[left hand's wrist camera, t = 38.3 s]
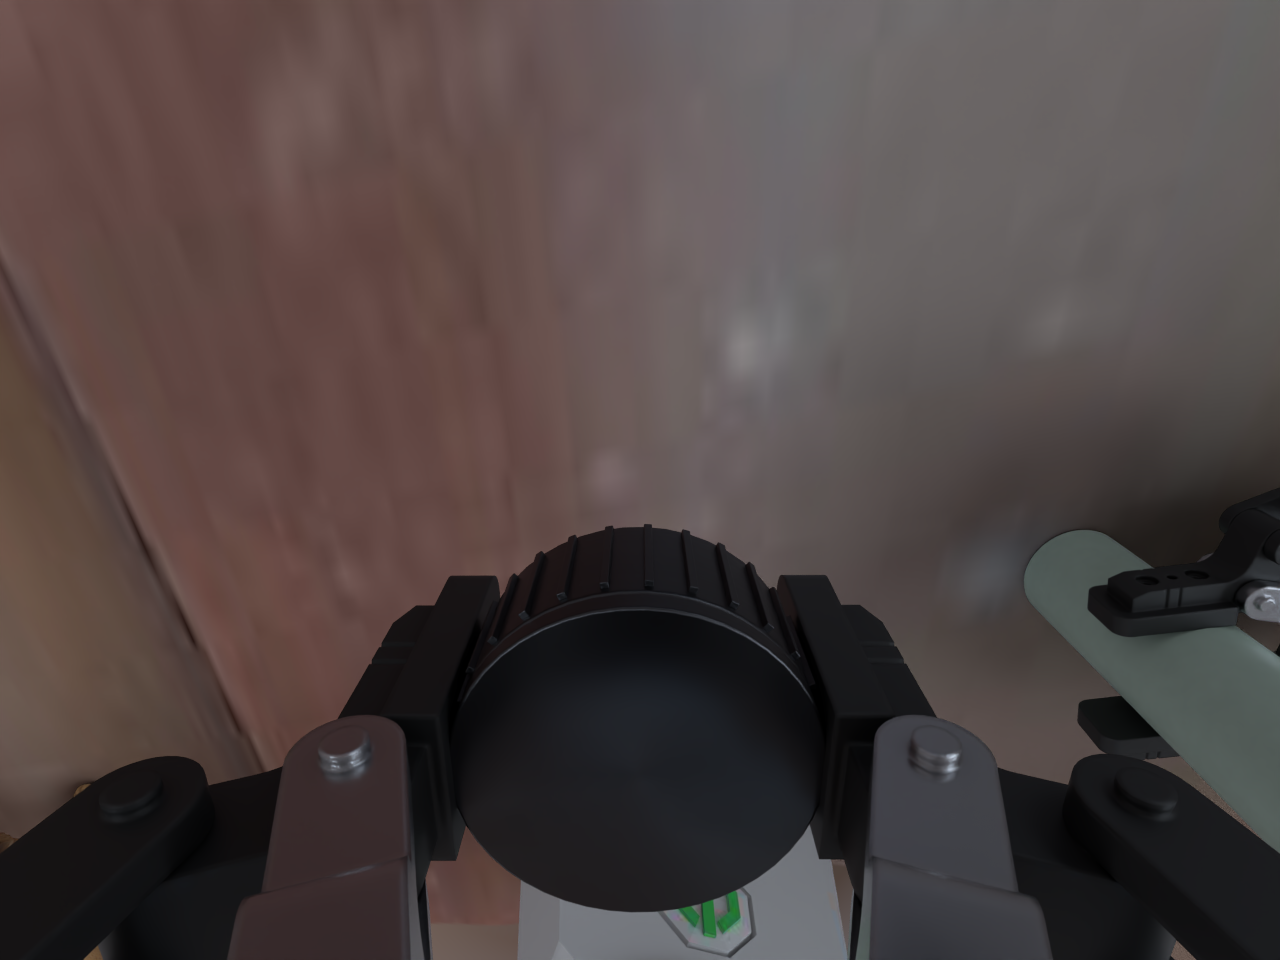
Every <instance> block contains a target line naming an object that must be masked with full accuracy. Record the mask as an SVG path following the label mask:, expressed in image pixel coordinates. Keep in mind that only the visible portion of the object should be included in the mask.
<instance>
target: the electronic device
mask: <svg viewBox="0 0 1280 960" xmlns="http://www.w3.org/2000/svg"><path fill="white" fill-rule="evenodd" d="M517 960H847V951H846V945H845V939H844V933H843V927H842V921H841V915H840V910H839V904H838V898H837V892H836V886H835V880H834V875H833V869H832V863H831V859H819V857H818V854H817V850H816V846H815V843H814V839H813V835H812V831H811V828H810V824H809V826H808V828H807V829H806V831H805V833H804V834H803V836H802V837H801V838H800V840H799V841H798V842H797V843H796V844H795V846H794V847H793V848H792V849H791V851H790V852H789V853H788V854H787V855H785V856H784V857H783V858H782V859H781V860H780V861H779V862H778V863H777V864H776V865H775V866H774V867H772V868H771V869H770V870H768V871H767V872H766V873H764V874H763V875H762V876H760V877H759V878H757V879H756V880H754V881H752V882H750V883H749V884H747V885H745V886H744V887H742V888H740V889H738V890H736V891H734V892H731V893H729V894H727V895H725V896H722V897H720V898H717V899H714V900H711V901H708V902H705V903H702V904H699V905H694V906H690V907H685V908H680V909H675V910H667V911H658V912H618V911H607V910H601V909H596V908H590V907H585V906H581V905H578V904H574V903H571V902H567V901H564V900H561V899H559V898H556V897H554V896H551V895H549V894H546V893H544V892H542V891H540V890H538V889H536V888H534V887H532V886H530V885H528V884H526V883H525V882H523V881H522V880H521V892H520V914H519V937H518V959H517Z"/></svg>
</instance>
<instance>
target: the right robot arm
mask: <svg viewBox="0 0 1280 960" xmlns="http://www.w3.org/2000/svg"><path fill="white" fill-rule="evenodd" d="M1219 527H1220V530H1221V531H1222V532H1223V533H1225V536H1224V538H1223V539H1222V541H1221V543H1220V545H1219V547H1218V548H1217V550H1216V551H1215V552H1214V553H1210V554H1207V555H1205V556H1203V557H1201V558H1200V559H1199V560H1198V561H1197V562H1196V563H1190V564H1181V565H1173V566H1165V567H1156V568H1155V569H1153V568H1148V569H1143V570H1131V571H1123V572H1121V573H1119V574H1117V575H1114V576H1112V577H1110V578H1108V584H1107V585H1098V586H1093V587H1091V588H1090V589H1089V593H1088V604H1087V609H1088V611H1089V612H1090V613H1091V614H1093V615H1094V616H1095V617H1096V618H1097V619H1098V620H1099V621H1100V622H1101V623H1102V624H1103V625H1104V626H1105V627H1106V628H1108V629H1109V630H1110V631H1111V632H1112V633H1114V634H1116V635H1119V636H1124V637H1139V636H1148V635H1157V634H1165V633H1174V632H1183V631H1192V630H1200V629H1206V628H1218V627H1226V626H1235V625H1236V622H1237V616H1238V613H1241V612H1243V613H1244V614H1246V615H1247V616H1249V617H1250V618H1252V619H1255V620H1262V621H1269V622H1277V623H1280V488H1277V489H1275V490H1272V491H1269V492H1267V493H1264V494H1261V495H1259V496H1256V497H1253V498H1251V499H1248V500H1245V501H1243V502H1240V503H1238V504H1235V505H1233V506H1231V507H1229V508H1228V509H1226V510H1225V511H1224V512H1223V514H1222V515H1221V517H1220V520H1219ZM1273 653H1274V654H1276V655H1277V656H1279V657H1280V645H1279V647H1278V648H1277V650H1276V651H1274V652H1273ZM1077 721H1078V724H1079V725H1080V726H1081V728H1082V729H1083V730H1084V731H1085V732H1086V734H1087V735H1088V736H1089V737H1090V738H1091V740H1092V741H1093V742H1094V743H1095V745H1096V746H1097V747H1098V748H1099V749H1100V750H1101V751H1103V752H1105V753H1107V754H1115V755H1123V756H1128V757H1133V758H1136V759H1139V760H1145V759H1156V758H1157V757H1158V758H1166V757H1175V756H1180V755H1179V754H1178V753H1177V752H1176V751H1175V750H1174V749H1173V748H1172V747H1171V746H1170V745H1169V744H1168V743H1167V742H1166V741H1165V740H1164V739H1163V738H1162V737H1161V736H1160V735H1159V734H1158V733H1157V732H1156V731H1155V730H1154V729H1153V728H1152V727H1151V726H1150V725H1149V724H1148V722H1147V721H1146V720H1145V719H1144V718H1143V717H1142V716H1141V715H1140V714H1139V713H1138V712H1137V711H1136V710H1135V709H1134V708H1133V707H1132V706H1131V705H1130V704H1129V703H1128V702H1127V701H1126V700H1125V699H1124V698H1123V697H1122V696H1116V697H1107V698H1098V699H1089V700H1083V701H1081V702H1080V703H1079V707H1078V719H1077Z"/></svg>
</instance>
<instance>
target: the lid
mask: <svg viewBox="0 0 1280 960" xmlns="http://www.w3.org/2000/svg"><path fill="white" fill-rule="evenodd" d="M465 673H467V675H466V678H465V680H464V683H463V686H462V689H461V691H460V694H459V697H458V699H457V705H458V709H457V712H456V715H455V718H454V721H453V723H452V726H451V732H450V739H449V744H450V755H451V765H452V774H453V783H454V792H455V799H456V806H457V808H458V810H459V812H460V814H461V816H462V818H463V820H464V822H465V824H466V826H467V827H468V829H469V830H470V832H471V833H472V835H473V836H474V838H475V839H476V841H477V842H478V843H479V844H480V845H481V846H482V847H483V849H484V850H485V851H486V852H487V853H488V854H489V855H490V856H491V857H492V858H493V859H494V860H495V861H496V862H498V863H499V864H500V865H501V866H502V867H503V868H504V869H506V870H507V871H508V872H510V873H511V874H513V875H514V876H516V877H517V878H519V879H520V880H522V881H523V882H525V883H526V884H528V885H530V886H532V887H534V888H536V889H538V890H540V891H542V892H544V893H546V894H549V895H551V896H554V897H556V898H559V899H561V900H564V901H567V902H571V903H574V904H578V905H581V906H585V907H590V908H596V909H601V910H607V911H618V912H658V911H667V910H675V909H680V908H685V907H690V906H694V905H699V904H702V903H705V902H708V901H711V900H714V899H717V898H720V897H722V896H725V895H727V894H729V893H731V892H734V891H736V890H738V889H740V888H742V887H744V886H745V885H747V884H749V883H750V882H752V881H754V880H756V879H757V878H759V877H760V876H762V875H763V874H764V873H766V872H767V871H768V870H770V869H771V868H772V867H774V866H775V865H776V864H777V863H778V862H779V861H780V860H781V859H782V858H783V857H784V856H785V855H787V854H788V853H789V852H790V851H791V849H792V848H793V847H794V846H795V844H796V843H797V842H798V841H799V840H800V838H801V837H802V836H803V834H804V833H805V831H806V829H807V828H808V826H809V824H810V823H811V821H812V819H813V818H814V815H815V813H816V811H817V808H818V806H819V802H820V795H821V786H822V777H823V767H824V758H825V747H826V735H825V731H824V727H823V723H822V719H821V716H820V713H819V710H818V708H817V705H816V702H815V700H814V696H813V694H812V692H813V691H816V690H818V688H817V686H816V683H815V680H814V677H813V675H812V672H811V669H810V667H809V664H808V661H807V659H806V656H805V653H804V651H803V648H802V645H801V642H800V640H799V637H798V634H797V632H796V629H795V626H794V624H793V621H792V618H791V616H790V615H789V616H786V615H785V612H784V609H783V606H782V604H781V601H780V598H779V595H778V592H777V591H776V589H775V588H774V587H772V588H770V589H769V588H768V587H767V586H766V584H765V583H764V582H763V581H762V580H761V578H760V577H759V576H758V575H757V573H756V570H755V567H754V565H753V564H751V563H750V562H748V563H747V564H745V563H744V562H742V561H741V560H739V559H738V558H737V557H735V556H734V555H732V554H731V553H729V552H728V551H726V549H725V545H723V544H721V543H719V542H718V543H717V545H714V544H712V543H710V542H708V541H706V540H703V539H700V538H697V537H695V536H692V535H690V531H687V530H682V533H681V532H677V531H672V530H667V529H659V528H652V525H651V524H644V527H626V528H617V529H613V526H607V527H605V530H603V531H599V532H595V533H591V534H588V535H584V536H580V537H578V538H577V537H576V535H573V536H570V537H569V538H568V542H566V543H563V544H561V545H559V546H557V547H556V548H554V549H552V550H550V551H549V552H547V553H545V554H544V553H543V552H542V551H541V552H539V553H538V554H536V557H535V560H534V562H533V563H531V564H530V565H529V566H527V567H526V568H525V569H524V570H523V571H522V572H521V573H520V574H519V575H518V576H517V575H516V574H513V575H512V576H511V577H510V578H509V581H508V584H507V587H506V590H505V592H504V594H503V595H502V596H501V598H500V600H499V602H497V601H494V600H493V602H492V603H491V605H490V608H489V611H488V613H487V616H486V618H485V621H484V624H483V626H482V629H481V632H480V634H479V637H478V640H477V642H476V645H475V648H474V650H473V653H472V655H471V658H470V661H469V663H468V666H467V669H466V671H465Z"/></svg>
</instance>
